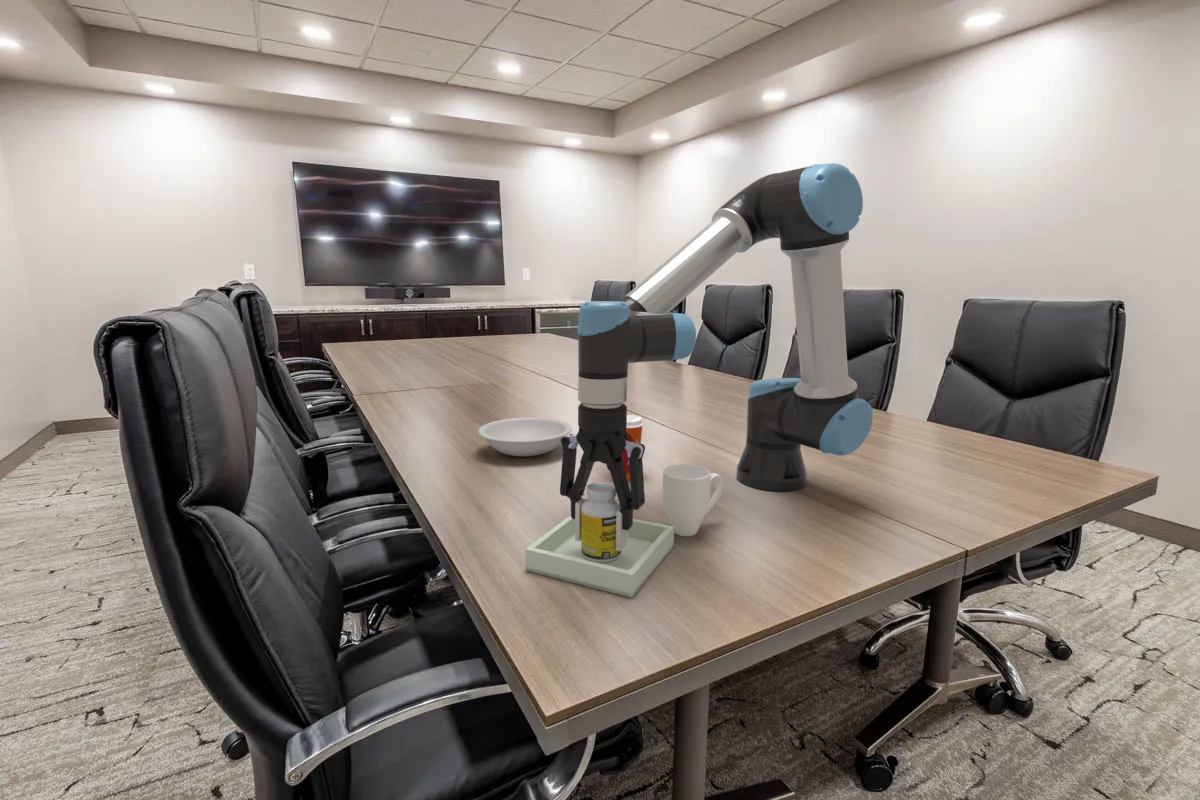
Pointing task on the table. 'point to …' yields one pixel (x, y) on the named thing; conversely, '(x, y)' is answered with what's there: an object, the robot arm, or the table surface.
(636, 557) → the tray
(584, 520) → the pill bottle
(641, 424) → the paper cup
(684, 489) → the mug
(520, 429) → the soup bowl
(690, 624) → the table surface
